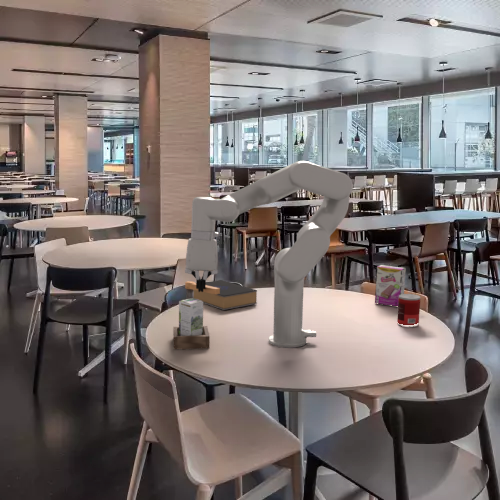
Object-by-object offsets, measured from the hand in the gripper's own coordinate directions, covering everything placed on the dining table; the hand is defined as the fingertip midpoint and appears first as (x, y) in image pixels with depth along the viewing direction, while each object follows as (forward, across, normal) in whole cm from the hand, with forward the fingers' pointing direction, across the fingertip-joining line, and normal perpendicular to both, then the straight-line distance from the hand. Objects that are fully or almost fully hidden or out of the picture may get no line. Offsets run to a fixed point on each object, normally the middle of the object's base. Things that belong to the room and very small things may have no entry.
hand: (200, 290), depth 188 cm
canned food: (+15, -78, -13) cm, 81 cm away
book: (+18, -13, -53) cm, 57 cm away
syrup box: (+18, +2, +1) cm, 18 cm away
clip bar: (+1, -1, -4) cm, 4 cm away
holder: (+17, +2, -2) cm, 18 cm away
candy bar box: (+15, -82, -42) cm, 94 cm away
